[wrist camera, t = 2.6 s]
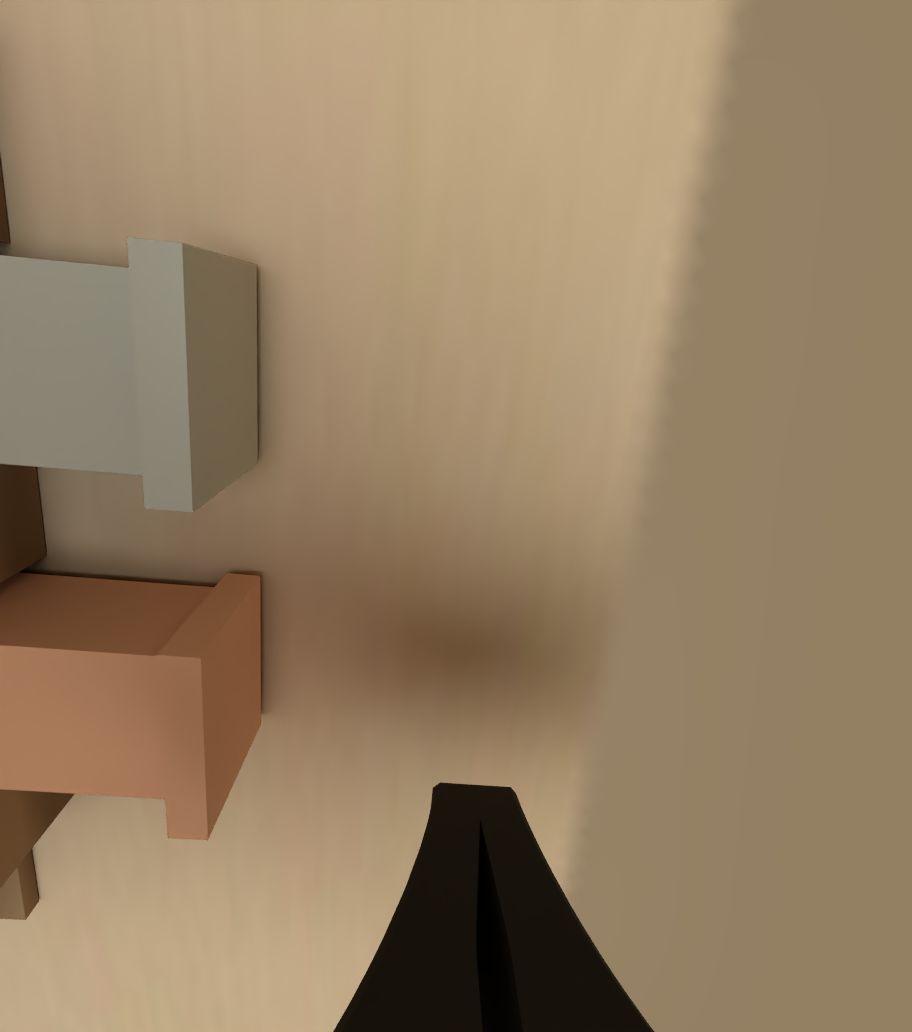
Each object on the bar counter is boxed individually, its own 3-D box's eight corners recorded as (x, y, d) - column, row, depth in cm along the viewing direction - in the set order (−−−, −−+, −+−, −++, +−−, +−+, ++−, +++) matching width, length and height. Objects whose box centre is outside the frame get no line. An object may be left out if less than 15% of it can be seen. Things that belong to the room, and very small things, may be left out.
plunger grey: (256, 264, 13) (181, 242, 9) (258, 462, 14) (193, 512, 10) (-79, 231, 12) (-293, 195, 9) (-46, 437, 14) (-223, 478, 10)
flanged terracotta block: (260, 576, 15) (200, 657, 11) (260, 723, 16) (207, 840, 12) (-26, 554, 15) (-182, 630, 11) (-3, 706, 16) (-135, 820, 12)
